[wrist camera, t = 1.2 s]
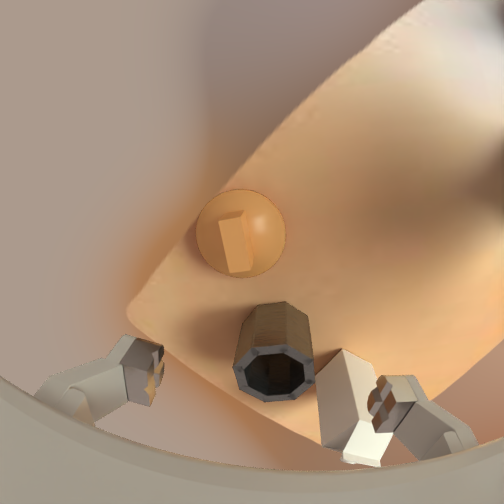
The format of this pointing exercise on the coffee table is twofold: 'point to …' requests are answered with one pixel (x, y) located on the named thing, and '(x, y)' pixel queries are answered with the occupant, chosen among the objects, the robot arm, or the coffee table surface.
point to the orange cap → (240, 233)
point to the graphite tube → (275, 353)
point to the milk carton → (349, 410)
